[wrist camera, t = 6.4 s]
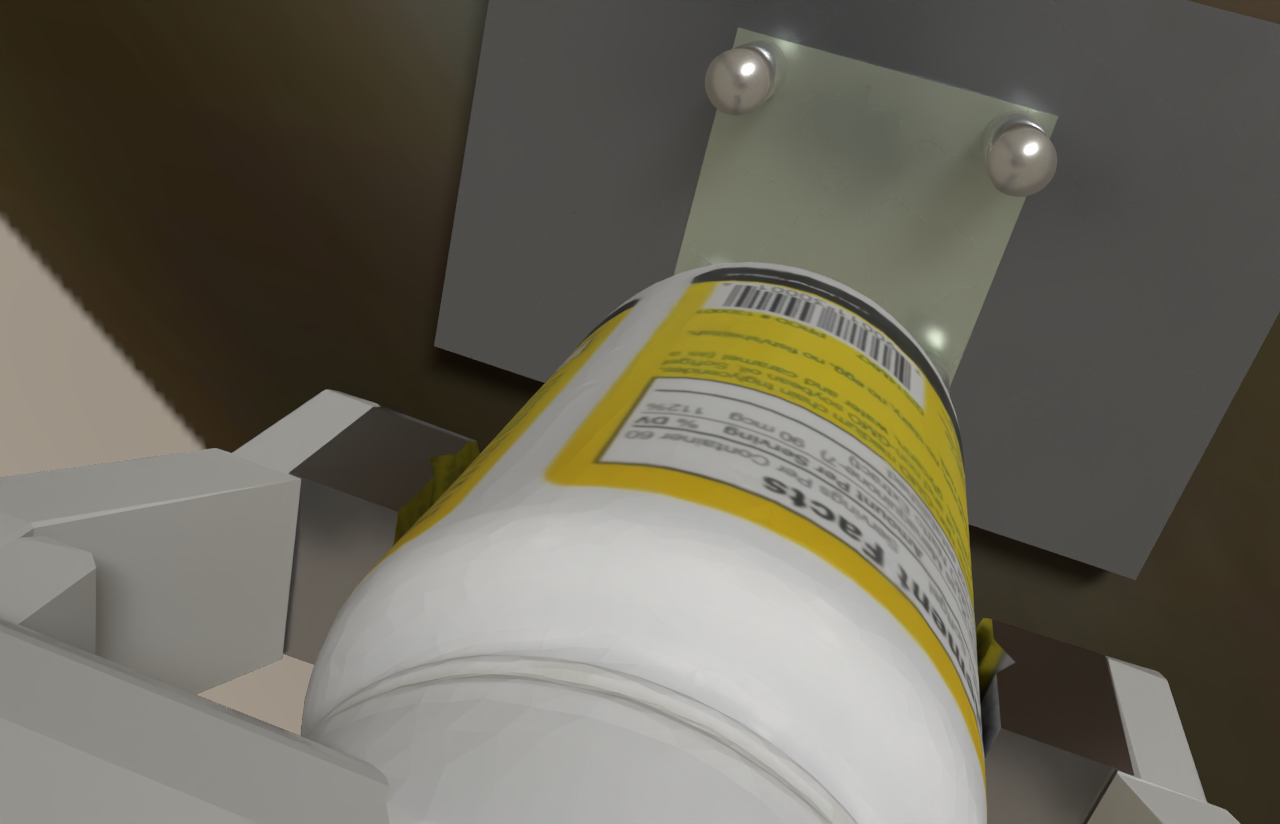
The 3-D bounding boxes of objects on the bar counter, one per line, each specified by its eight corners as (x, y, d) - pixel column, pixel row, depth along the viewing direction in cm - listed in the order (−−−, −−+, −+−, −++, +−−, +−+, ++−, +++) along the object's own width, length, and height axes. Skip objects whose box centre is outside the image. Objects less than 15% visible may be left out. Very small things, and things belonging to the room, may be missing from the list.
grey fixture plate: (453, 331, 28) (378, 387, 24) (536, -166, 23) (457, -192, 19) (1127, 554, 26) (1158, 654, 22) (1390, 54, 21) (1490, 74, 17)
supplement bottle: (642, 645, 14) (299, 1421, 7) (508, 319, 13) (-115, 829, 5) (1012, 582, 12) (1122, 1536, 5) (903, 197, 11) (817, 697, 4)
